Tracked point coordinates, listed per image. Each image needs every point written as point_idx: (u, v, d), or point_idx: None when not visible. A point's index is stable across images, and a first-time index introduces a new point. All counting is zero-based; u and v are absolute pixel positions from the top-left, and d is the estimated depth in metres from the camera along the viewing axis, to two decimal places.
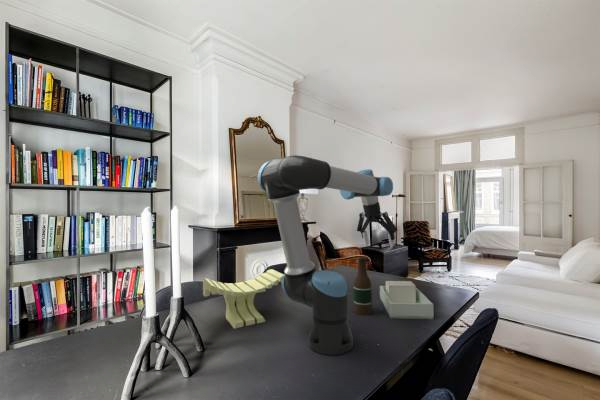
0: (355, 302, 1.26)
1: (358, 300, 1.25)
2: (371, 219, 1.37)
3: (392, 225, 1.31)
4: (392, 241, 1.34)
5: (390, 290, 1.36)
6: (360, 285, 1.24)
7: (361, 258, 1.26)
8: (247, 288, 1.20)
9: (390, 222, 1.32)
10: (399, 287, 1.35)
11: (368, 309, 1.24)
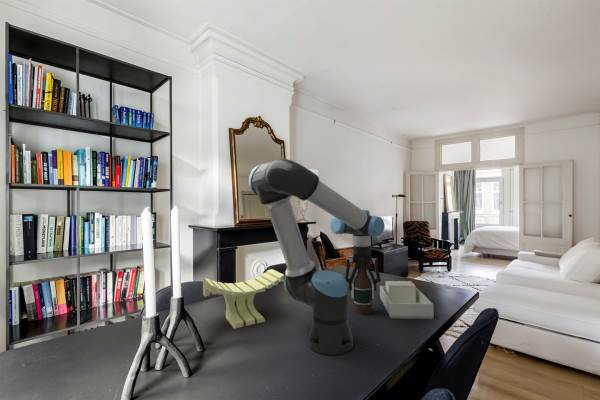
0: (355, 302, 1.26)
1: (358, 300, 1.25)
2: None
3: (379, 274, 1.26)
4: None
5: (390, 290, 1.36)
6: (360, 285, 1.24)
7: (361, 258, 1.26)
8: (247, 288, 1.20)
9: (378, 270, 1.27)
10: (399, 287, 1.35)
11: (368, 309, 1.24)
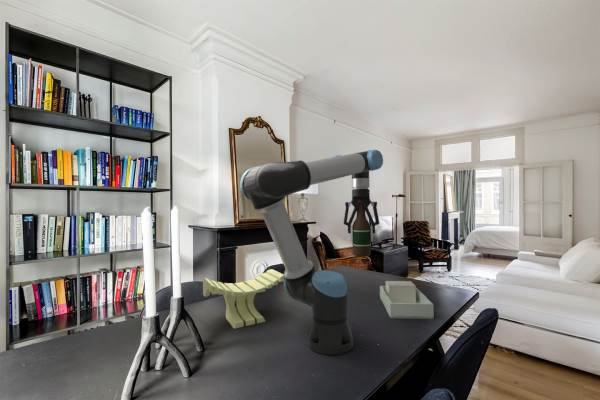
0: (354, 245, 1.26)
1: (356, 242, 1.25)
2: None
3: (377, 217, 1.27)
4: None
5: (390, 290, 1.36)
6: (359, 227, 1.24)
7: (360, 201, 1.26)
8: (247, 288, 1.20)
9: (377, 213, 1.27)
10: (399, 287, 1.35)
11: (367, 251, 1.24)
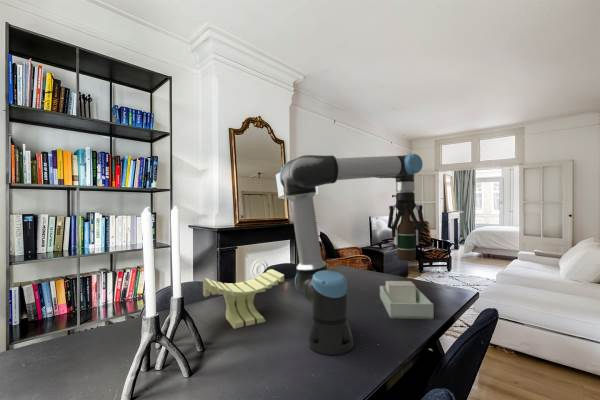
0: (399, 248, 1.25)
1: (402, 246, 1.24)
2: None
3: None
4: None
5: (390, 290, 1.36)
6: (405, 231, 1.24)
7: (405, 204, 1.25)
8: (247, 288, 1.20)
9: None
10: (399, 287, 1.35)
11: (413, 254, 1.23)
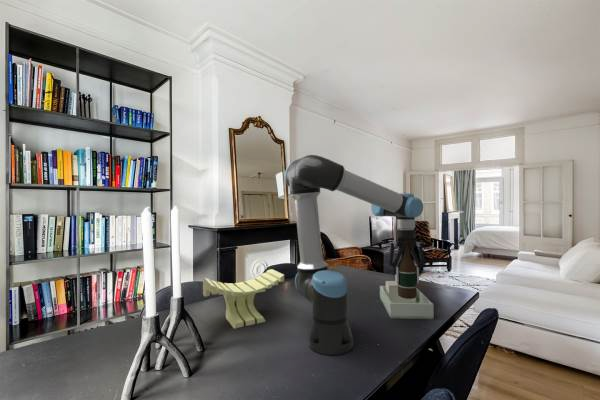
0: (400, 286, 1.25)
1: (403, 284, 1.24)
2: None
3: None
4: None
5: (390, 290, 1.36)
6: (406, 269, 1.23)
7: (406, 242, 1.25)
8: (247, 288, 1.20)
9: None
10: None
11: (414, 293, 1.23)
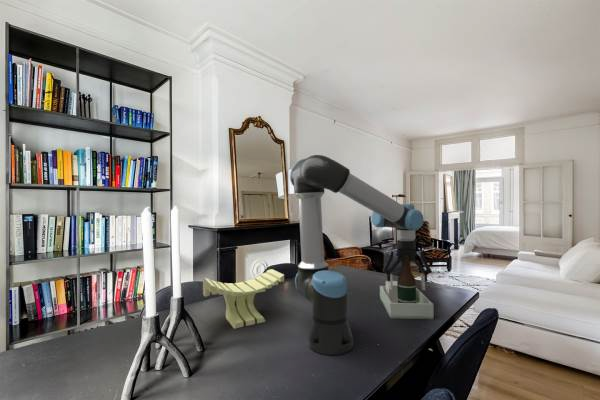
0: (400, 300, 1.25)
1: (403, 298, 1.24)
2: None
3: (428, 265, 1.25)
4: None
5: (390, 290, 1.36)
6: (406, 283, 1.23)
7: None
8: (247, 288, 1.20)
9: None
10: None
11: None
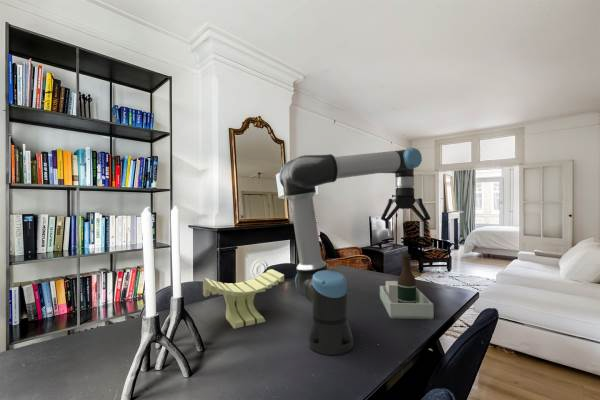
0: (400, 300, 1.25)
1: (403, 298, 1.24)
2: (404, 205, 1.25)
3: None
4: None
5: (390, 290, 1.36)
6: (406, 283, 1.23)
7: (406, 255, 1.25)
8: (247, 288, 1.20)
9: None
10: None
11: None
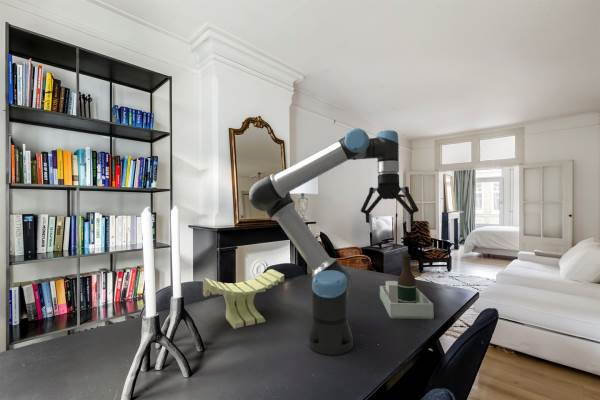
0: (400, 300, 1.25)
1: (403, 298, 1.24)
2: (387, 195, 1.06)
3: None
4: None
5: (390, 290, 1.36)
6: (406, 283, 1.23)
7: (406, 255, 1.25)
8: (247, 288, 1.20)
9: None
10: None
11: None
